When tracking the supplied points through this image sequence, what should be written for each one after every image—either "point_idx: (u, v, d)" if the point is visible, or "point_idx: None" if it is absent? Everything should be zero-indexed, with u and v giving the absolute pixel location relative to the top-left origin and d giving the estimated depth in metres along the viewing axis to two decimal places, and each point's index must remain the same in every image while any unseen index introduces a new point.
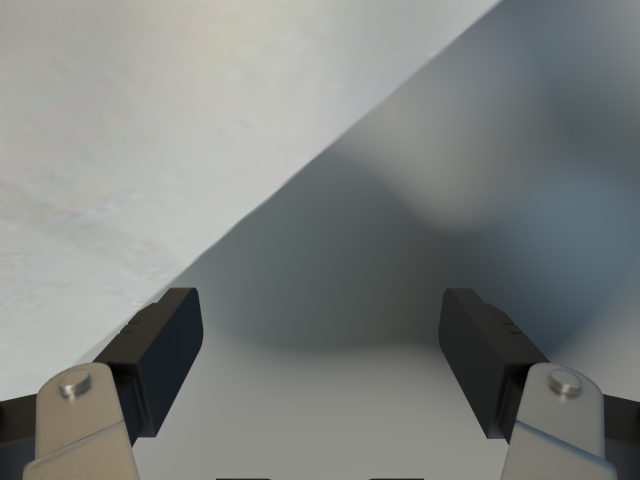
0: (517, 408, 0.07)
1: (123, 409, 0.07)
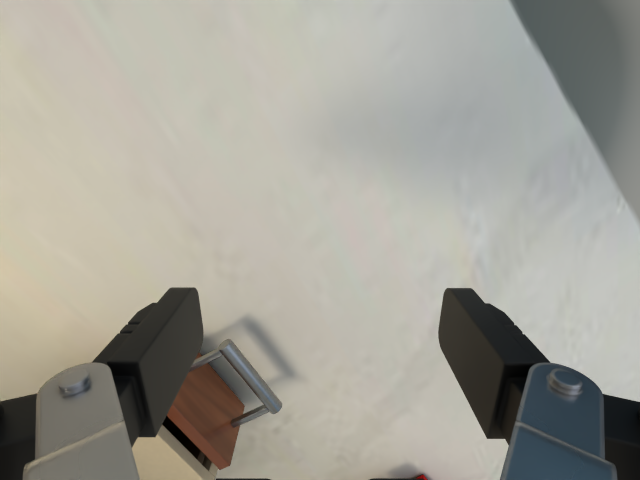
0: (517, 408, 0.07)
1: (123, 409, 0.07)
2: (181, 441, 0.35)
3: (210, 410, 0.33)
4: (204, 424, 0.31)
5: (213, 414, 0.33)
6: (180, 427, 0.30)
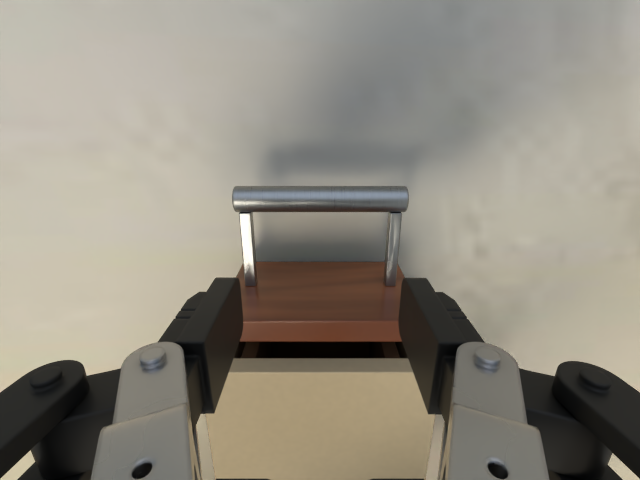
0: (449, 383, 0.08)
1: (192, 384, 0.08)
2: None
3: (332, 291, 0.18)
4: (331, 308, 0.17)
5: (341, 293, 0.18)
6: (298, 338, 0.16)
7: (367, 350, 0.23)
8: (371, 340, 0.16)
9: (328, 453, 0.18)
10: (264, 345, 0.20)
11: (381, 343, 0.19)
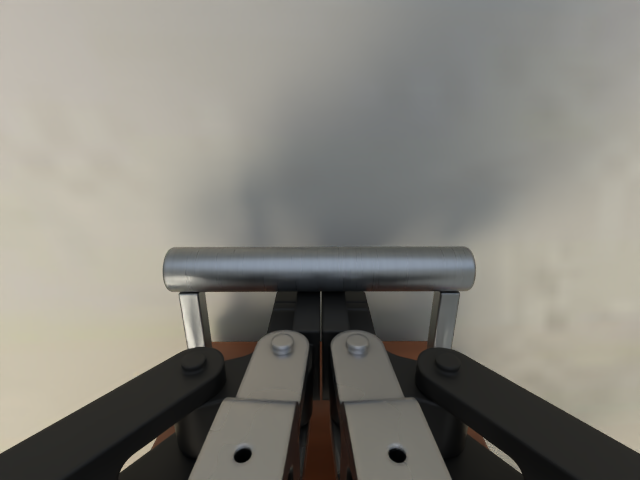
0: None
1: (312, 371, 0.08)
2: None
3: None
4: None
5: None
6: None
7: None
8: None
9: None
10: None
11: None
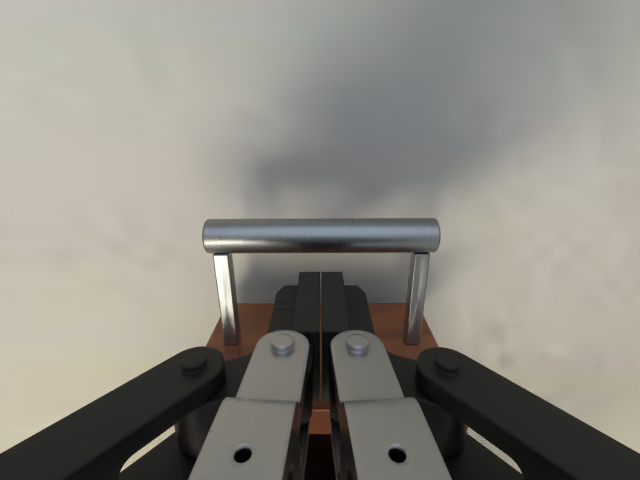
0: None
1: (312, 371, 0.08)
2: None
3: None
4: None
5: None
6: None
7: None
8: None
9: None
10: None
11: None
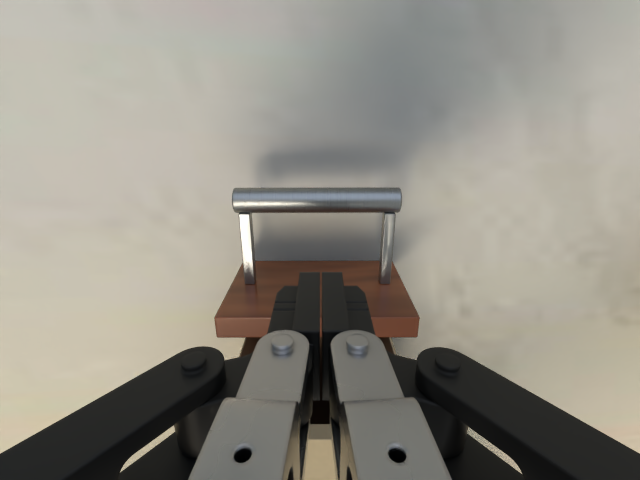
0: None
1: (312, 371, 0.08)
2: None
3: None
4: None
5: None
6: None
7: None
8: None
9: None
10: None
11: None
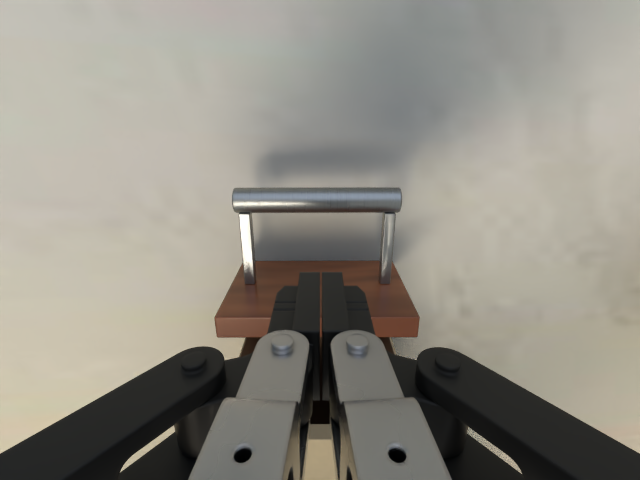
0: None
1: (312, 371, 0.08)
2: None
3: None
4: None
5: None
6: None
7: None
8: None
9: None
10: None
11: None
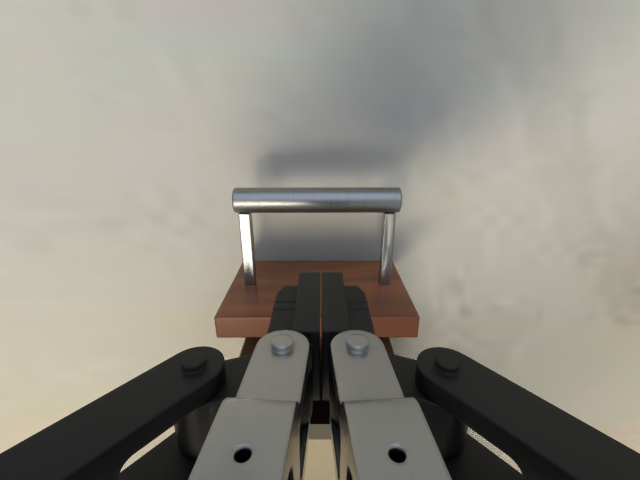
0: None
1: (312, 371, 0.08)
2: None
3: None
4: None
5: None
6: None
7: None
8: None
9: None
10: None
11: None
